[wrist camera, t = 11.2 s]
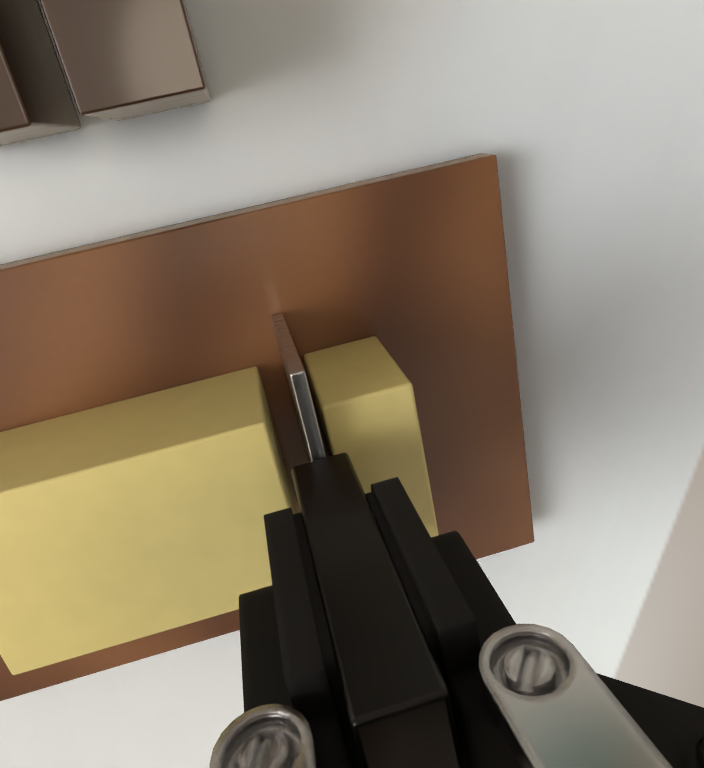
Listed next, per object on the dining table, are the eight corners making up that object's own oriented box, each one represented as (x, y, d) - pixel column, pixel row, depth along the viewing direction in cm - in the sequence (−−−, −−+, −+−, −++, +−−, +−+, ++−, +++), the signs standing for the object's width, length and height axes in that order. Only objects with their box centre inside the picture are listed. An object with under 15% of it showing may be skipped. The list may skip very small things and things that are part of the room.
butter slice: (375, 334, 16) (412, 383, 13) (403, 477, 18) (442, 550, 15) (302, 353, 16) (321, 407, 13) (337, 495, 18) (362, 573, 15)
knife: (299, 308, 16) (427, 563, 6) (352, 529, 18) (493, 931, 9) (253, 319, 15) (313, 598, 6) (313, 541, 18) (417, 960, 9)
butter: (257, 364, 16) (264, 422, 13) (297, 506, 18) (313, 587, 15) (-20, 436, 15) (-84, 515, 12) (52, 575, 17) (11, 677, 14)
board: (481, 152, 16) (497, 153, 15) (521, 524, 21) (535, 542, 20) (-251, 322, 14) (-284, 335, 13) (-23, 685, 19) (-36, 712, 18)
